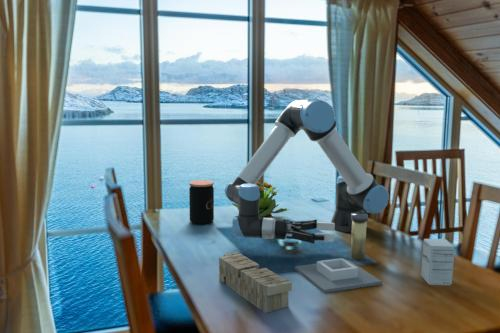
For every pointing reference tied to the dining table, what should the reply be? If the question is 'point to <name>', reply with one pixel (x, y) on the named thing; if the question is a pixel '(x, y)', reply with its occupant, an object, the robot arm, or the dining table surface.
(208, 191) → the coffee jar
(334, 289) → the socket plate
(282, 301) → the block tower
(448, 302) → the dining table surface
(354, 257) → the lidded glass jar
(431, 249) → the supplement box
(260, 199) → the potted flower
